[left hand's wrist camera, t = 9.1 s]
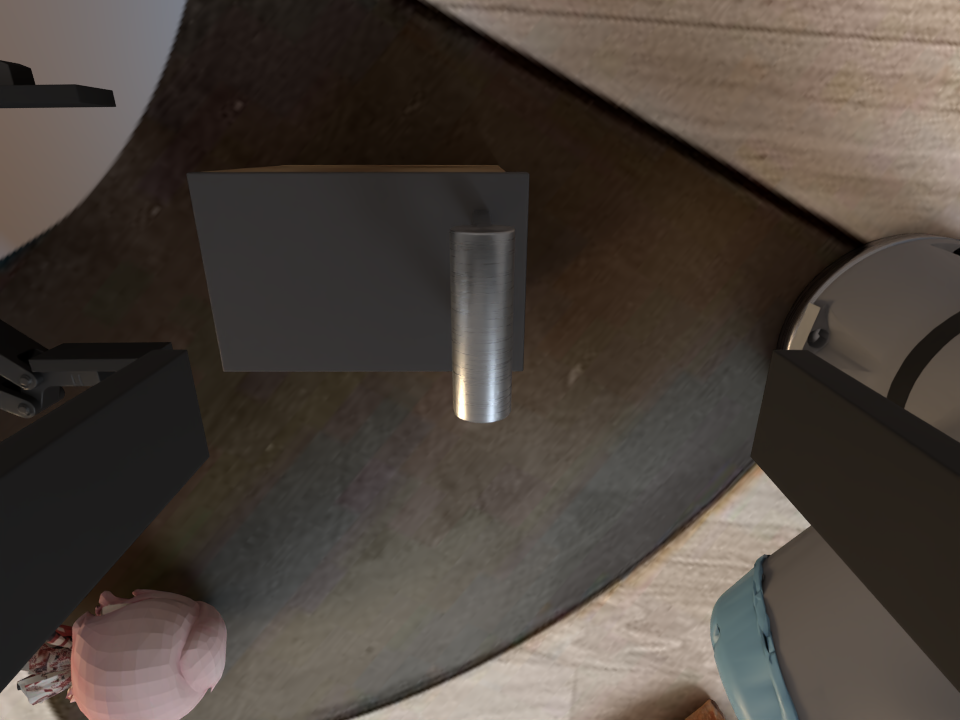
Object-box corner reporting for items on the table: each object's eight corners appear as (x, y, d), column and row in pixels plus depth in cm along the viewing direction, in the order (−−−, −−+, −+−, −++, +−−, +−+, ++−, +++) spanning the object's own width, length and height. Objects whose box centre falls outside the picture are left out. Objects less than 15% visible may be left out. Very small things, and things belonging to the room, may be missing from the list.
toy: (101, 694, 49) (259, 693, 48) (-17, 797, 38) (183, 799, 37) (87, 566, 48) (247, 562, 47) (-36, 634, 38) (167, 631, 36)
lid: (527, 171, 23) (553, 183, 15) (521, 364, 27) (540, 459, 18) (197, 171, 23) (43, 183, 15) (232, 364, 27) (121, 459, 18)
